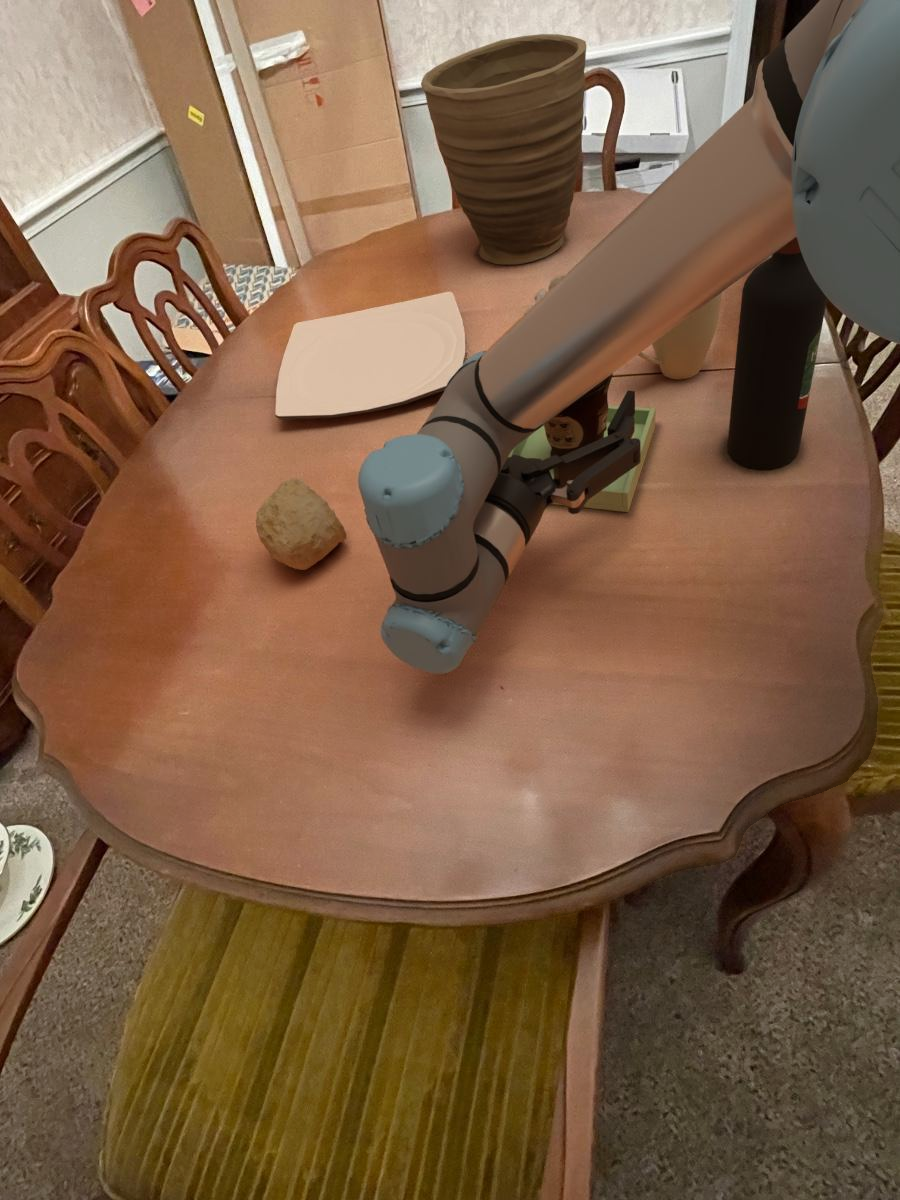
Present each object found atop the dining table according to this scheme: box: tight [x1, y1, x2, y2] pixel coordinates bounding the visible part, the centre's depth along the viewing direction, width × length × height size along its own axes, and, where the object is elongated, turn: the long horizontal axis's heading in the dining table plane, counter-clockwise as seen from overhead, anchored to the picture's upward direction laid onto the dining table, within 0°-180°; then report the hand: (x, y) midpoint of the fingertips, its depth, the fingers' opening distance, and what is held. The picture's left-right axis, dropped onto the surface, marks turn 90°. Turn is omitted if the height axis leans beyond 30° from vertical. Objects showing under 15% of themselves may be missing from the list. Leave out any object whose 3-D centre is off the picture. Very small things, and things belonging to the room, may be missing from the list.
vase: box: [420, 33, 587, 266], centre depth 120 cm, size 24×24×30 cm
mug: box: [637, 292, 723, 380], centre depth 93 cm, size 11×10×12 cm
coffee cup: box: [544, 373, 614, 457], centre depth 84 cm, size 9×8×13 cm
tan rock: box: [255, 477, 347, 571], centre depth 85 cm, size 10×10×10 cm
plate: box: [275, 291, 467, 420], centre depth 112 cm, size 29×29×3 cm
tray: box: [508, 405, 657, 513], centre depth 89 cm, size 15×15×3 cm
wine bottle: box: [726, 237, 828, 471], centre depth 74 cm, size 8×8×30 cm
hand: (570, 394), depth 82 cm, fingers open, 13 cm apart
